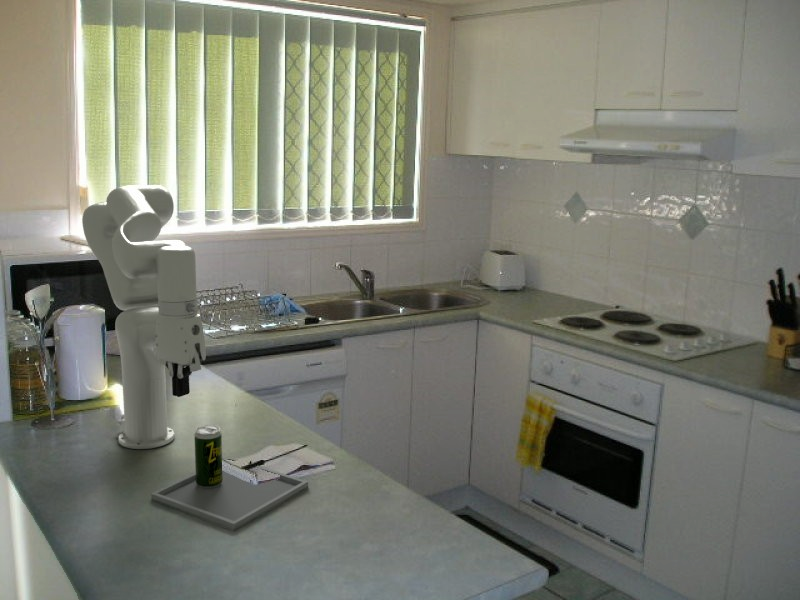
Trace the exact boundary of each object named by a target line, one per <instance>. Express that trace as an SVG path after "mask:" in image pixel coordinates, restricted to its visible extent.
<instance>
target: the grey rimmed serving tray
mask: <svg viewBox="0 0 800 600" xmlns="http://www.w3.org/2000/svg"><path fill="white" fill-rule="evenodd" d="M222 460H232V461H236V460H237V461H238V460H239V459H237V458H234V457H231V456H228V457H226V458H222ZM257 468H260V469H262V470H265V471H267V472H271V473H274V474H278V475H280V479H278V480H275V481H270V482H266V483H261V484H259V485H253V484H251V483H249V482H246V481H243V480H241V479H239V478H237V477H235V476H233V475H230V474H228V473H226V472H224V471H222V475H223V481H222V483H221V485H220V486H219V487H217V488H215V489H201V488H199V487H198V486H197V484H196V472H194V473H191V474H190V475H188V476H185V477H183V478H181V479H179V480H176V481H175V482H172V483H170V484H167V485H166V486H163V487H161V488H159V489H157V490H155V491H153V492H152V493H150V500H151V501H152V502H154V503H157V504H160V505H162V506H165V507H168V508H170V509H173V510H174V511H175V510H176V511H178V512H181V513H184V514H186V515H188V516H192V517H194V518H198V519H199V520H203V521H206V522H208V523H211V524H213V525H215V526H219V527H222V528H225V529H227V530H230V531H231V532H232V531H233V532H236V531H238V530H239V529H241V528H242V527H245V526H246V525H248V524H249V523H251V522H253V521H255V520H257V519H259V518H260V517H261V516H263V515H265V514H267V513H268V512H270V511H272V510H274V509H276V508H277V507H279V506H280V505H282V504H284V503H285V502H288V501H289V500H291V499H293V498H294V497H296V496H297V495H300V494H301V493H303V492H305V491H306V490H308V489H309V481H308V480H305V479H301V478H297V477H295V476H292V475H288V474H285V473H282V472H279V471H275V470H272V469H269V468H266V467H263V466H260V465H257Z"/></svg>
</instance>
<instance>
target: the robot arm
mask: <svg viewBox="0 0 800 600" xmlns="http://www.w3.org/2000/svg"><path fill="white" fill-rule="evenodd" d="M174 205H175V204H174V200H173V197H172V194H171V193H170V191H169V190H168V189H167V188H166V187H164V186H162V185H159V184H158V185H157V184H153V185H152V184H151V185H150V184H148V185H147V184H146V185H144V184H143V185H142V184H141V185H124V186H119V187H116V188H114V189H113V190H111V191H110V192H109V193H108V194H107V197H106V201H103V202H97V203H94V204H91V205H89V206H88V207H87V206H86V207H87V208H85V210H84V212H83V214H82V218H81V221H82V230H83V234H84V237H85V240H86V242H87V244H88V247H89V248H90V250H91V251H92V253H93V254H94V256H95V257H96V259H97V260H98V262H99V263H100V265H101V268H102V271H103V274H104V277H105V281H106V283H107V286H108V289H109V292H110V295H111V298H112V301H113V303H114V304H115V306H116V308H118V309H119V310H120V311H122V312H120V314H118V315H117V317H116V319H115V324H114V326H115V327H114V328H115V334H116V338H117V343H118V347H119V353H120V354H119V355H120V362H121V378H122V379H121V380H122V395H123V397H122V399H123V413H122V414H121V416H120V419H117V420H116V425H117V426H120V427H122V432H120V433H119V434H118V439H117V441H118V444H119V445H120V446H122V447H124V448H128V449H134V450H147V449H155V448H156V449H157V448H159V447H162V446H163V447H164V446H165V445H167V444H169V443H171V442H172V441H173V440H175V435H176V434H175V431H174V430H173V429H172V428H171V427H169V426H168V409H167V407H168V406H167V384H166V383H167V382H166V369H167V370H168V374H169V375H168V376H170V377H171V386H172V387H171V390H172V396H174V397H177V398H181V397H183V396H186V395H189V394H190V392H191V391H190V376H192V374H193V372H198V371H201V370H202V365H201V362H204V361H205V360H206V357H207V356H206V354H207V353H206V338H205V331H204V326H203V321H202V318H201V315H200V314H199V313H198V311H199V309H200V308H199V307H200V306H199V305H198V300H197V299H198V298H197V296H198V295H197V270H196V267H197V265H196V261H197V260H196V252H195V250H194V248H192V247H190V246H188V244H186V243H185V242H184V241H182V240H179V239H169V240H168V239H167V240H156V239H157V237H159V235H160V233H161V230H162V228H163V227H165V225H166V224H168V223H169V221H170V220H171V219H172V217H173V214H174V210H175V209H174V208H175V207H174ZM154 349H155V352H154Z"/></svg>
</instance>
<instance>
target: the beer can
mask: <svg viewBox="0 0 800 600" xmlns="http://www.w3.org/2000/svg"><path fill="white" fill-rule="evenodd" d="M222 434H223V433H222V431H221V428H220V427H219V426H218V425H214V424H213V425H212V424H205V425H201V426H198V427H196V428H195V433H194V456H195V457H194V459H195V461H194V463H195V473H196V484H197V486H198V487H199V488H201V489H215V488H217V487H219V486H220V485H221V483H222V481H223V475H222V460H223V447H222V446H223V444H222V443H223V441H222Z"/></svg>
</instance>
